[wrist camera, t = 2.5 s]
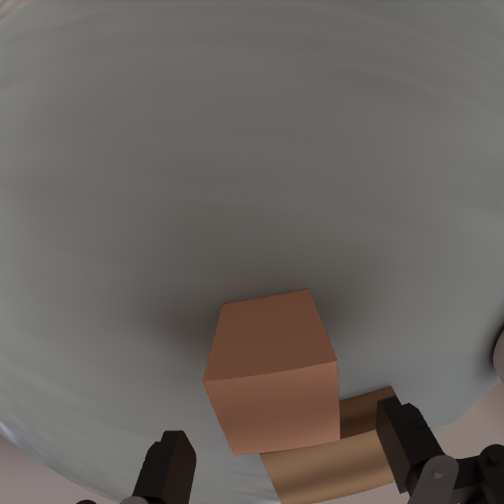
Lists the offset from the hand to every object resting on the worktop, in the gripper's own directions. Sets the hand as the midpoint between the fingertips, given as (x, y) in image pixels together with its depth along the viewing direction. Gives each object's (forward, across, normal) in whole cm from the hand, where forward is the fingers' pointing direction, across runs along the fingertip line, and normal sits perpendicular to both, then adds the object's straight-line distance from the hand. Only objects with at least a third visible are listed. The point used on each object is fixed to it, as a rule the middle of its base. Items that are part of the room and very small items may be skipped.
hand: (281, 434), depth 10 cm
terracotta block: (+8, 0, 0) cm, 8 cm away
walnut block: (+8, -3, +12) cm, 14 cm away
